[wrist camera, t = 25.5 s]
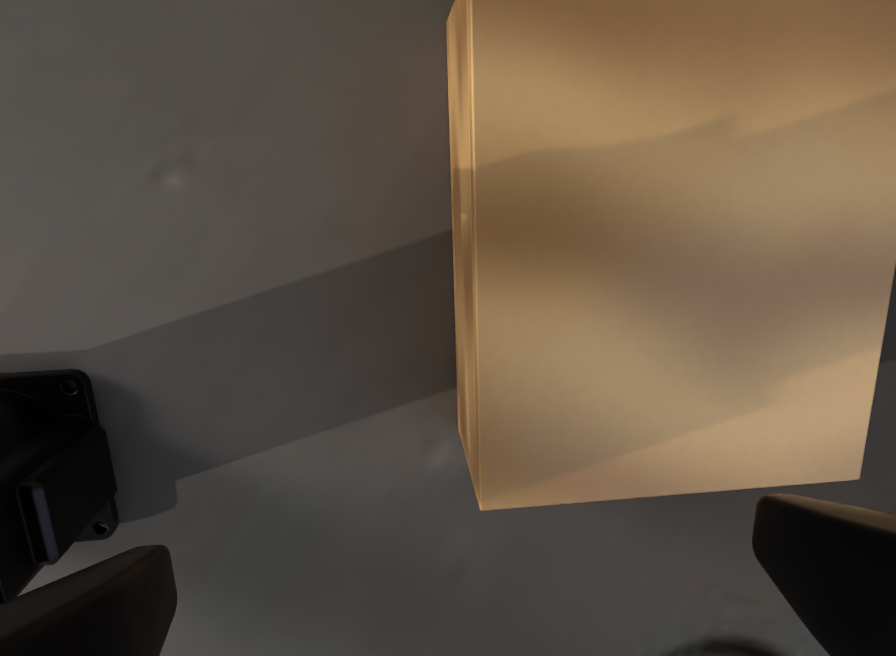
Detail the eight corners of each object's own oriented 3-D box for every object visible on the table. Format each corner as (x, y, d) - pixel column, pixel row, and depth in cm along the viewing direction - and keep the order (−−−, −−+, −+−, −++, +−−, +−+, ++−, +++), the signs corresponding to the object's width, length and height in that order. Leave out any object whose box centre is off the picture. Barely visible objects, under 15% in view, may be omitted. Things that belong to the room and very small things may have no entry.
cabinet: (446, 20, 19) (469, -40, 13) (794, 16, 20) (948, -42, 14) (458, 428, 23) (480, 511, 17) (750, 408, 24) (860, 480, 18)
